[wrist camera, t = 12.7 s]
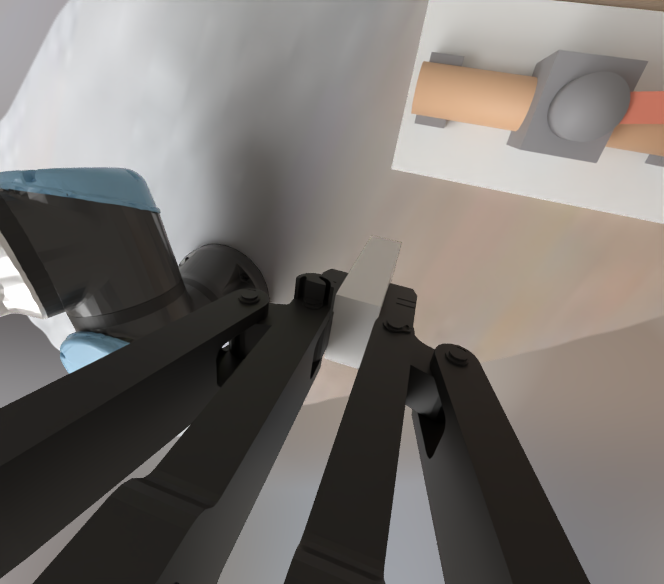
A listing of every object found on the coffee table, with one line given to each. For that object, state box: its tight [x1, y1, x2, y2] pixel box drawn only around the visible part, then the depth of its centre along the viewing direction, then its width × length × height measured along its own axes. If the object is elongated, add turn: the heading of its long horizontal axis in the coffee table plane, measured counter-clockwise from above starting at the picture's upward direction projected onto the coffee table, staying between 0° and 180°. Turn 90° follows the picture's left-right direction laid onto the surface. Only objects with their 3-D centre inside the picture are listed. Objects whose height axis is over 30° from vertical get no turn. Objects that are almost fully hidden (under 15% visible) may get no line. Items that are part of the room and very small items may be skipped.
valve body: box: [391, 0, 664, 224], centre depth 30 cm, size 28×16×8 cm, turn 81°
